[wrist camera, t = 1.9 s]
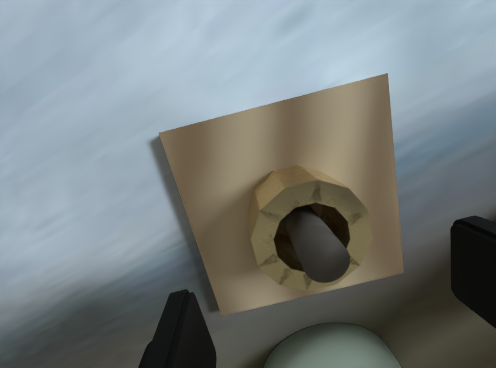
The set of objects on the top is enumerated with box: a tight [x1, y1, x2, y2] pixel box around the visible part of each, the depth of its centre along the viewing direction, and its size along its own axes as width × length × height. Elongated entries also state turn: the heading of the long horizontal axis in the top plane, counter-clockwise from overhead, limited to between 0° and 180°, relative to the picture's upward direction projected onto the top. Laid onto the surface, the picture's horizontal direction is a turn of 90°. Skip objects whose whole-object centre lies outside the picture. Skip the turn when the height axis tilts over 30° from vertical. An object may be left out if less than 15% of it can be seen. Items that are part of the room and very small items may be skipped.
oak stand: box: [159, 73, 404, 316], centre depth 13 cm, size 14×14×7 cm
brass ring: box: [248, 165, 372, 291], centre depth 14 cm, size 6×6×4 cm
